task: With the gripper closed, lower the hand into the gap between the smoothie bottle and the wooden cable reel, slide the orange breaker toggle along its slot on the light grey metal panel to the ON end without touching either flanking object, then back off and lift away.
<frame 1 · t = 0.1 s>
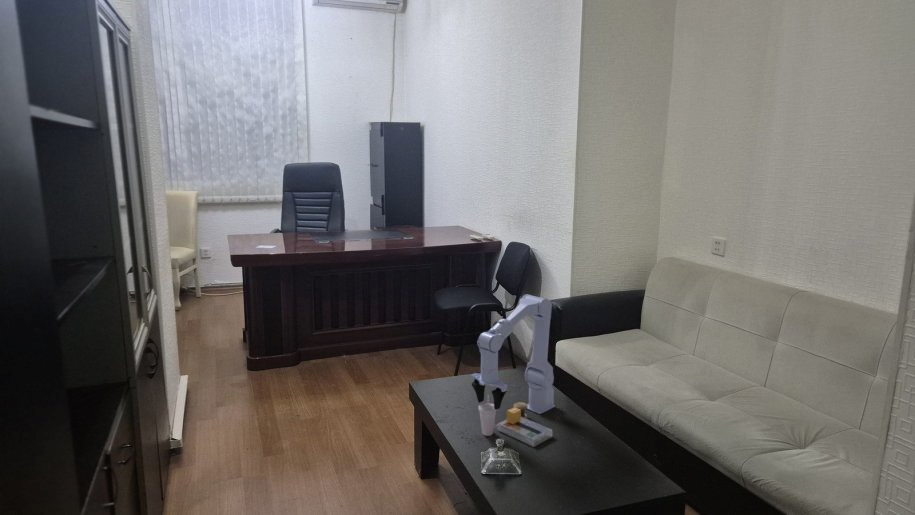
hand: (488, 404, 203), 10 cm above the table, tool pointing down, fingers open, 7 cm apart
reel: (520, 417, 216), on the table
toggle: (513, 415, 207), point 5 cm above the table, slide at 0.0 cm
panel: (524, 433, 204), on the table
smoothie: (487, 433, 204), on the table
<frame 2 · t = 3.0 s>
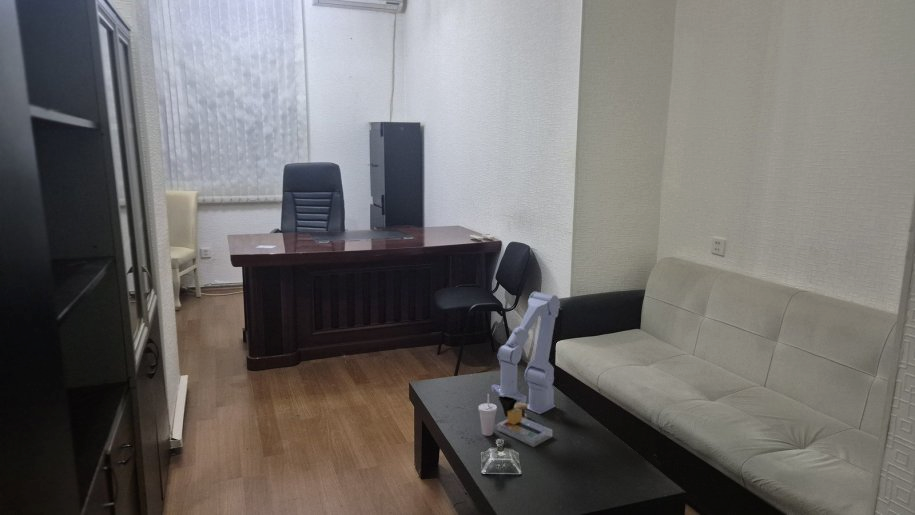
hand: (508, 415, 209), 4 cm above the table, tool pointing down, fingers closed
toggle: (514, 415, 206), point 5 cm above the table, slide at 0.4 cm, touching gripper
everything else where it was.
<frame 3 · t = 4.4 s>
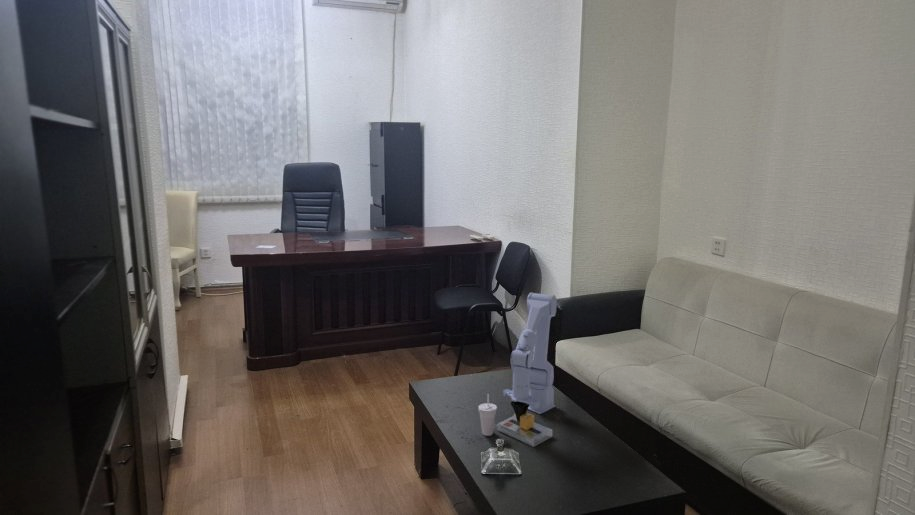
hand: (520, 420, 205), 4 cm above the table, tool pointing down, fingers closed
toggle: (527, 421, 202), point 5 cm above the table, slide at 6.0 cm, touching gripper
everything else where it was.
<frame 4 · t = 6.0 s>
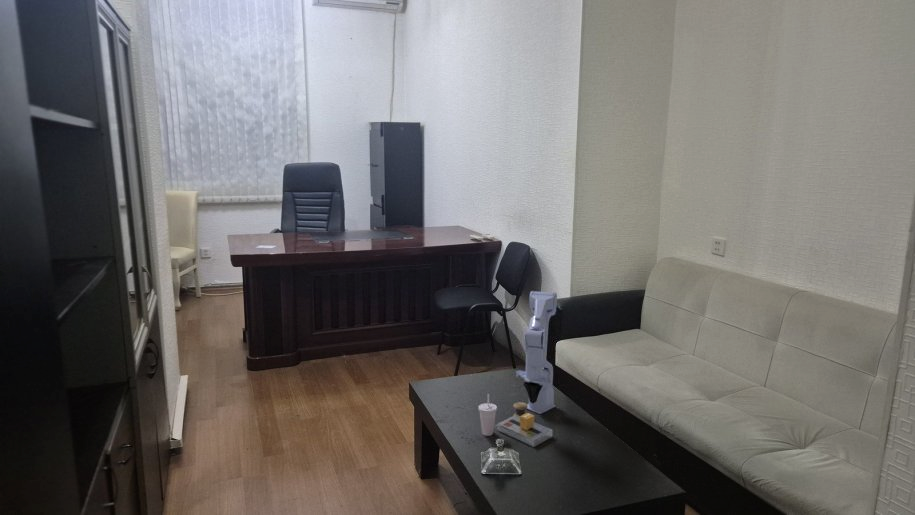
hand: (533, 401, 205), 10 cm above the table, tool pointing down, fingers closed
toggle: (527, 421, 202), point 5 cm above the table, slide at 6.0 cm
everything else where it was.
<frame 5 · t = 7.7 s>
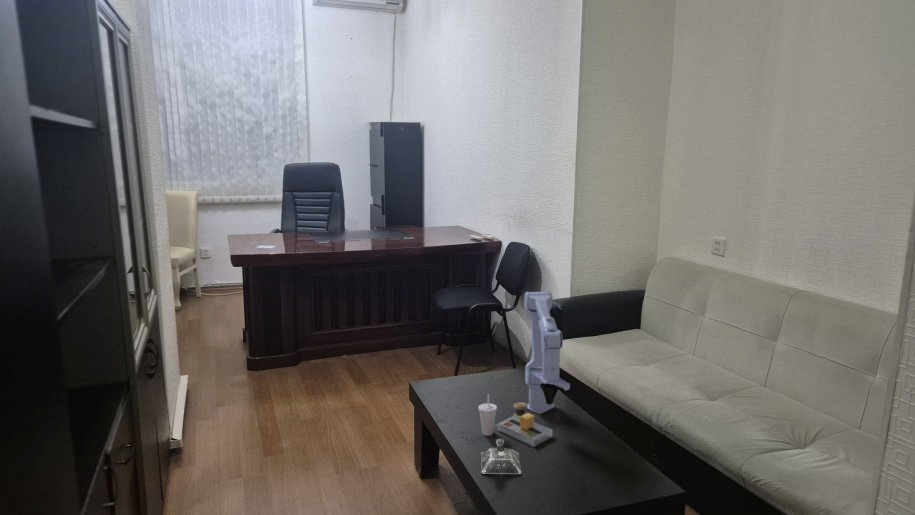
hand: (549, 403, 203), 10 cm above the table, tool pointing down, fingers closed
nothing on the table moved.
at the end: toggle slide at 6.0 cm; reel moved 0.1 cm from its start; smoothie moved 0.2 cm from its start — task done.
